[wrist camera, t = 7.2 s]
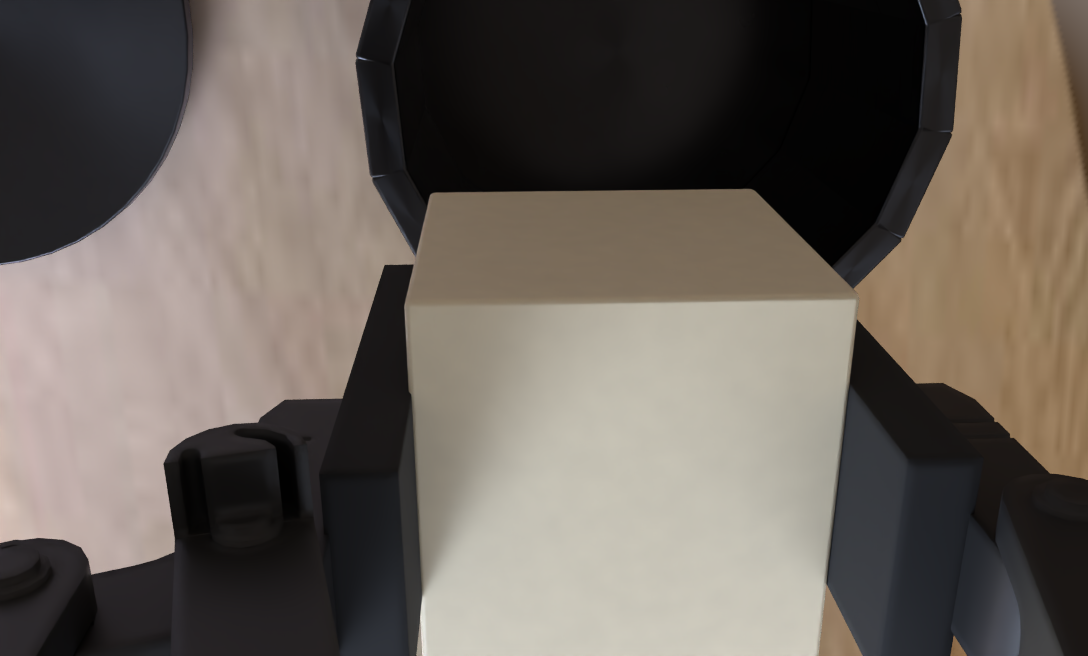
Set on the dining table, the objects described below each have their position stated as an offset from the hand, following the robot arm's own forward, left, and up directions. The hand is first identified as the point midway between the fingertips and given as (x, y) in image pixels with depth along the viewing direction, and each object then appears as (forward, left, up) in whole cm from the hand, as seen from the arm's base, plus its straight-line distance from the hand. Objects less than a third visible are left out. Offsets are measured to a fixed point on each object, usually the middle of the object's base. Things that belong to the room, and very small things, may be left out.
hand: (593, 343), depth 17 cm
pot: (0, +3, -15) cm, 16 cm away
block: (0, 0, 0) cm, 0 cm away
